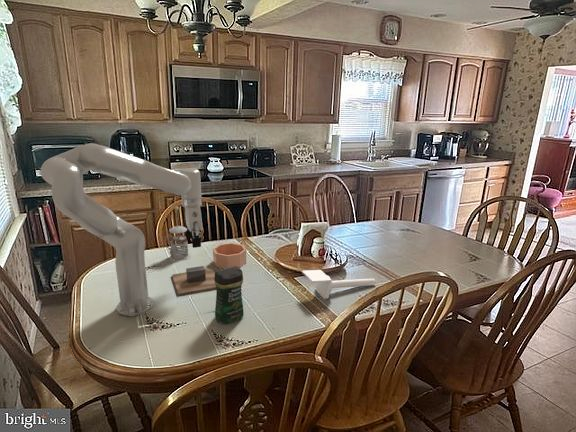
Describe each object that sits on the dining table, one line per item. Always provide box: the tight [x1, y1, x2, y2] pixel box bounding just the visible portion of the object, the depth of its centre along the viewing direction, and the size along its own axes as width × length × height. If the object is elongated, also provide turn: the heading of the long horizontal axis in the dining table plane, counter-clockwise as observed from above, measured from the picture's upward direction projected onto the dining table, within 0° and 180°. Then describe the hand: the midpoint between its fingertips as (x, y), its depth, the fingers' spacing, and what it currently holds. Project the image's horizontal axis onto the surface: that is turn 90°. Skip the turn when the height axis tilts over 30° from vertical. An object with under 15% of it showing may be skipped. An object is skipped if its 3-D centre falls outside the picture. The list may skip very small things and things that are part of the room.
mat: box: [170, 269, 217, 298], centre depth 157 cm, size 18×18×1 cm
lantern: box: [163, 206, 192, 262], centre depth 178 cm, size 10×12×25 cm
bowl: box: [212, 242, 247, 269], centre depth 176 cm, size 14×14×7 cm
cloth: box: [171, 265, 216, 297], centre depth 156 cm, size 17×17×6 cm
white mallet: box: [301, 269, 376, 300], centre depth 154 cm, size 9×9×32 cm
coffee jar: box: [214, 266, 245, 325], centre depth 132 cm, size 10×8×19 cm
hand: (194, 242), depth 152 cm, fingers open, 9 cm apart
